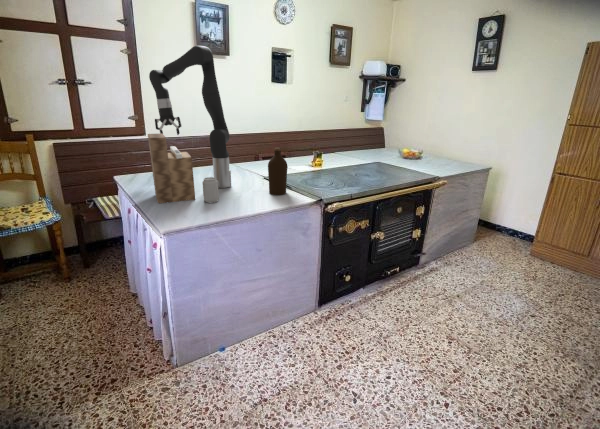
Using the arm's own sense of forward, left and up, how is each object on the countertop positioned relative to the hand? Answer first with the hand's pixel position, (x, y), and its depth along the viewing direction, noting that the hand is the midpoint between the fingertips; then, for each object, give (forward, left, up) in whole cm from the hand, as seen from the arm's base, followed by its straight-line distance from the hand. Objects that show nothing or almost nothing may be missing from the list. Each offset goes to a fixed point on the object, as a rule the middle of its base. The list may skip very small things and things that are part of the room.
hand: (170, 135), depth 203 cm
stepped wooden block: (+4, +36, -27) cm, 45 cm away
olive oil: (-49, +49, -27) cm, 74 cm away
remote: (+1, +32, -5) cm, 33 cm away
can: (-12, +50, -27) cm, 58 cm away
